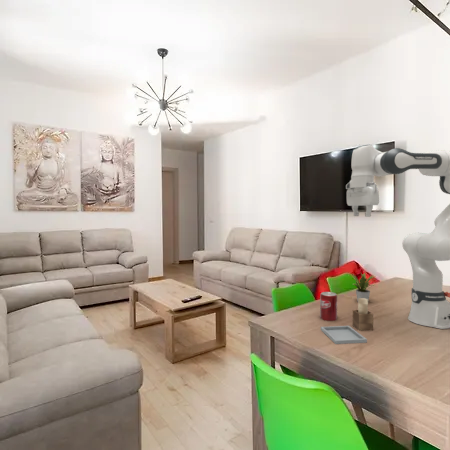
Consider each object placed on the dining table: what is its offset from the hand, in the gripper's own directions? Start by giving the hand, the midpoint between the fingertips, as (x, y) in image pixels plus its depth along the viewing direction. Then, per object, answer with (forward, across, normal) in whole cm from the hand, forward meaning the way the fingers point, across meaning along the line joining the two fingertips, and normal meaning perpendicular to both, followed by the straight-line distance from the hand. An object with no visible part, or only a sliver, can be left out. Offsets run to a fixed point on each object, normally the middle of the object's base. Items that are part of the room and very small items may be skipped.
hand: (361, 216), depth 136 cm
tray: (+47, -13, +14) cm, 51 cm away
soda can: (+47, +7, +11) cm, 49 cm away
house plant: (+47, +30, -19) cm, 59 cm away
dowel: (+46, -6, +2) cm, 47 cm away
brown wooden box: (+47, -6, +2) cm, 47 cm away
